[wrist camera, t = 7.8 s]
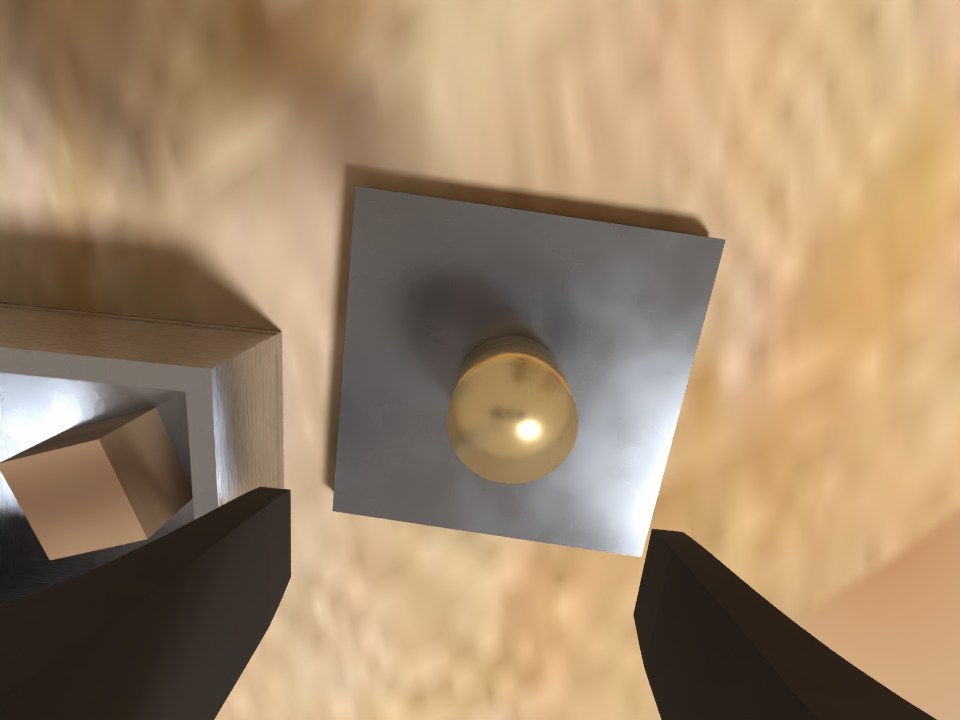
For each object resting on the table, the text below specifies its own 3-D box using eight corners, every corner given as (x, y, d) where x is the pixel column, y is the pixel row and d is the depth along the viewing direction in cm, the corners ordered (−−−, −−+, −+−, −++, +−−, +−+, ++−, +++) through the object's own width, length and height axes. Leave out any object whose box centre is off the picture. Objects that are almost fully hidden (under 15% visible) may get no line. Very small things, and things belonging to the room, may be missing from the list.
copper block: (195, 495, 21) (147, 539, 18) (109, 514, 22) (49, 560, 19) (156, 407, 20) (98, 439, 17) (67, 429, 21) (-4, 463, 18)
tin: (284, 591, 23) (227, 689, 18) (23, 562, 23) (-101, 652, 19) (281, 331, 20) (210, 368, 15) (-23, 301, 20) (-189, 327, 15)
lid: (632, 536, 22) (667, 623, 17) (343, 492, 22) (299, 568, 17) (709, 237, 19) (779, 245, 14) (365, 187, 19) (319, 178, 14)
